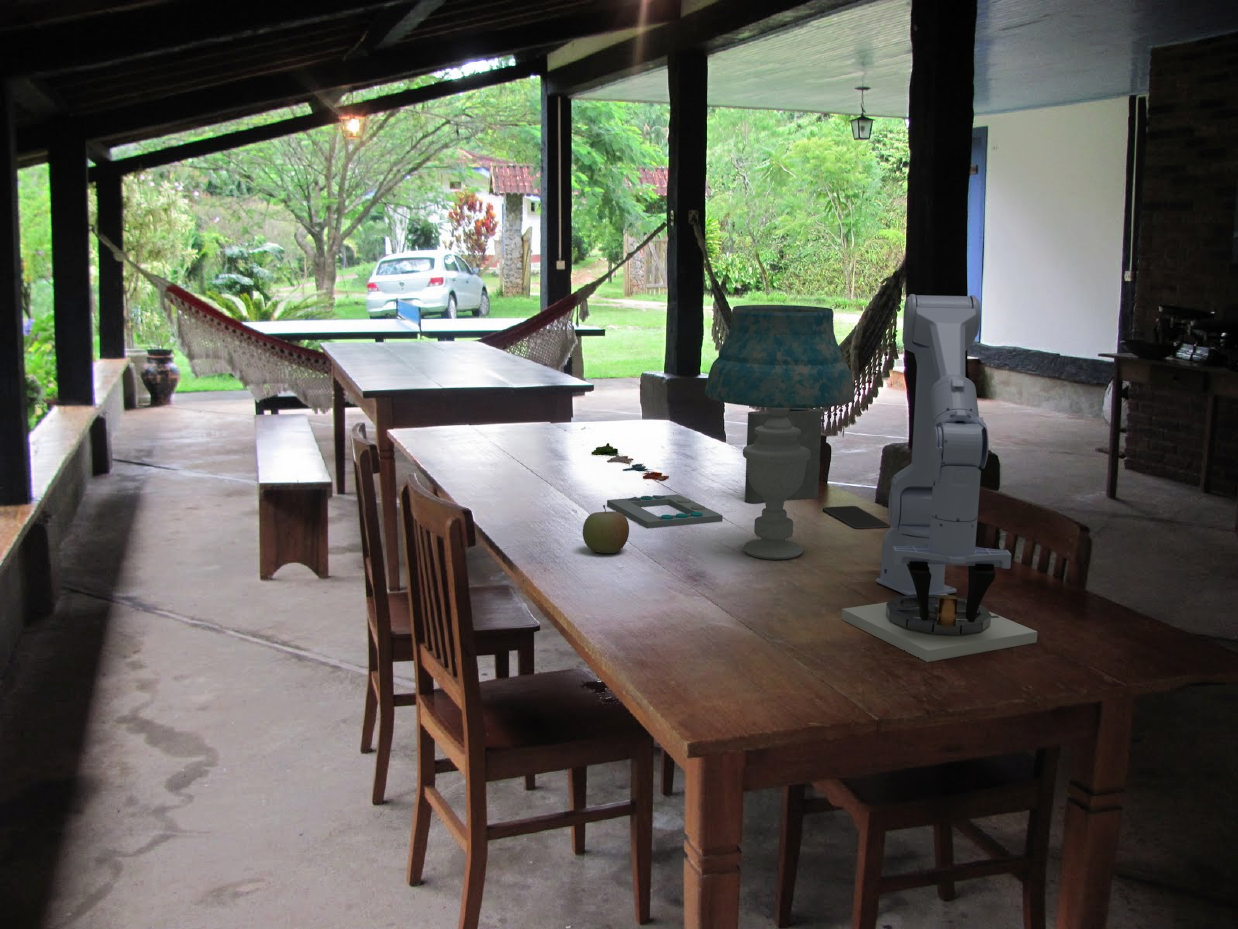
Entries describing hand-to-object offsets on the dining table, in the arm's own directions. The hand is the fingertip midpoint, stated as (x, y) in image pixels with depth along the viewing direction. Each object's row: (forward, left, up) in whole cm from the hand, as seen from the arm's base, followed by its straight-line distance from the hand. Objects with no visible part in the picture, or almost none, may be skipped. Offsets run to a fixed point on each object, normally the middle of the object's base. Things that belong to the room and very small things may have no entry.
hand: (946, 619), depth 158 cm
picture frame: (-78, 0, -4) cm, 78 cm away
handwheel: (-5, +3, -2) cm, 6 cm away
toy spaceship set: (-121, +14, -4) cm, 122 cm away
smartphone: (-61, +31, -4) cm, 69 cm away
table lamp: (-47, +4, -4) cm, 48 cm away
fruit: (-58, -21, -4) cm, 62 cm away
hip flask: (-80, +27, -4) cm, 85 cm away
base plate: (-5, +3, -4) cm, 7 cm away
